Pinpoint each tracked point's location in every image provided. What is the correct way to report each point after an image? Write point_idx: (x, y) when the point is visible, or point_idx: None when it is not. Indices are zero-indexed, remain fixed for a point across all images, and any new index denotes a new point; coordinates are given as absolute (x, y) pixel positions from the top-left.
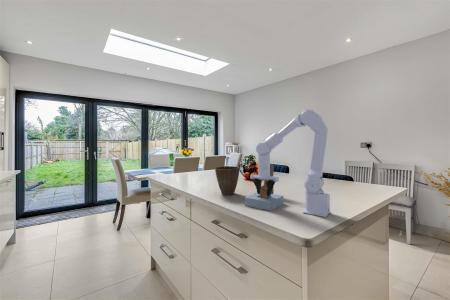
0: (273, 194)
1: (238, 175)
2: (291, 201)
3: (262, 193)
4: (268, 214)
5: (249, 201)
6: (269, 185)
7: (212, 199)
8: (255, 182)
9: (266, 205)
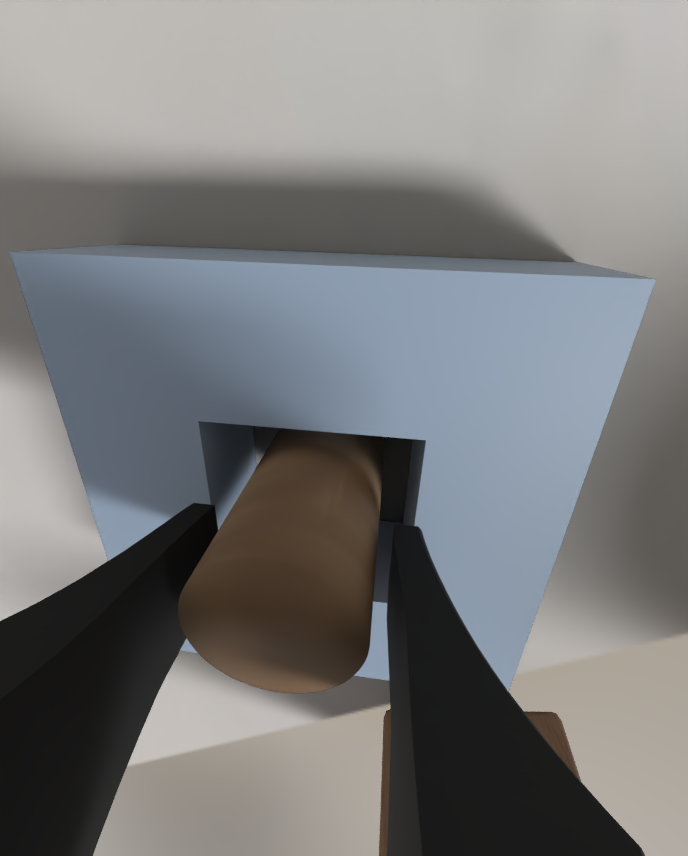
0: None
1: None
2: None
3: (279, 496)
4: (44, 43)
5: (497, 266)
6: None
7: None
8: (500, 809)
9: (151, 249)
